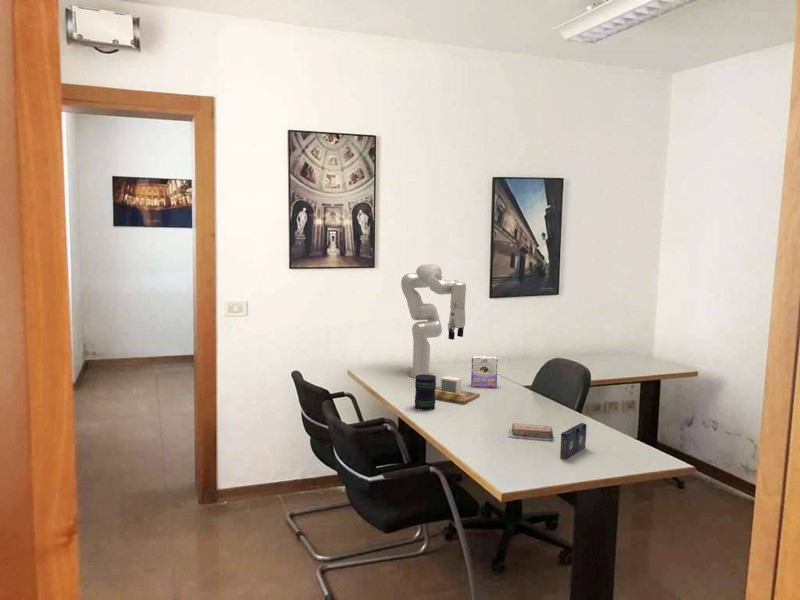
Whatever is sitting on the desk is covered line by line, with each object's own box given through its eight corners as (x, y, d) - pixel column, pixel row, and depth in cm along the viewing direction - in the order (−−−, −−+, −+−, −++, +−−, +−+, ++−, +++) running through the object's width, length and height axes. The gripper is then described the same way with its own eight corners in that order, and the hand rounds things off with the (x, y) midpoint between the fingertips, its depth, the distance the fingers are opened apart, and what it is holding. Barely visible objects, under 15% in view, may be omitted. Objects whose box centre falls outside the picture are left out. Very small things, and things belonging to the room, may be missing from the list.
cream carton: (456, 396, 324) (456, 380, 323) (440, 393, 329) (440, 377, 328) (460, 394, 329) (461, 378, 328) (445, 391, 333) (445, 376, 332)
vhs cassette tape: (579, 446, 259) (581, 422, 258) (586, 448, 257) (588, 424, 256) (558, 458, 245) (559, 432, 244) (565, 460, 243) (567, 434, 242)
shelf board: (421, 396, 327) (421, 388, 327) (437, 389, 343) (438, 381, 342) (464, 404, 315) (464, 395, 314) (479, 396, 330) (479, 388, 330)
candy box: (496, 385, 354) (497, 356, 352) (496, 388, 348) (498, 358, 346) (470, 384, 355) (471, 355, 354) (470, 387, 350) (472, 357, 348)
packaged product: (552, 424, 273) (553, 431, 263) (552, 435, 273) (552, 443, 264) (509, 420, 276) (508, 427, 267) (509, 431, 277) (507, 438, 267)
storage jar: (436, 410, 303) (437, 379, 302) (415, 410, 303) (416, 379, 301) (434, 404, 313) (435, 374, 312) (413, 404, 313) (414, 374, 311)
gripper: (456, 308, 330) (454, 341, 332) (471, 304, 344) (469, 336, 347) (443, 306, 334) (441, 339, 336) (459, 303, 348) (457, 334, 351)
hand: (455, 337), depth 342 cm, fingers open, 9 cm apart
